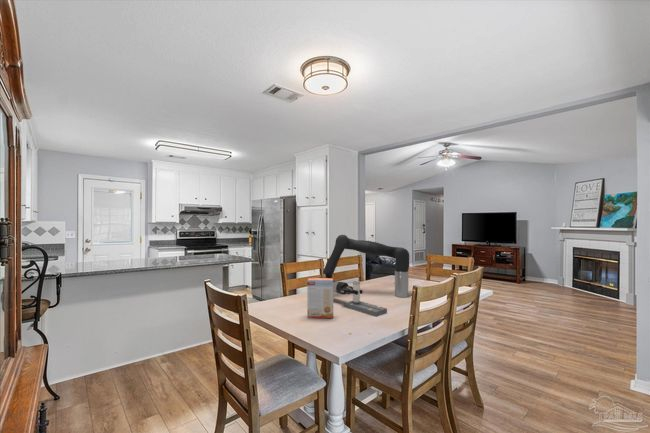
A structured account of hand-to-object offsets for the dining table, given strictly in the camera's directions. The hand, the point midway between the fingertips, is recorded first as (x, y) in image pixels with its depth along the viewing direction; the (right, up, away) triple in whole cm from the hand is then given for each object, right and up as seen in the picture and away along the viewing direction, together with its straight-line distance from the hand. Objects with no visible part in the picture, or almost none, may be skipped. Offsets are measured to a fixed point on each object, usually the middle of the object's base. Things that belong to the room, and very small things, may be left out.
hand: (359, 292), depth 189 cm
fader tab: (-2, -7, +2) cm, 7 cm away
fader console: (+3, -9, -3) cm, 10 cm away
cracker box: (-24, -10, -15) cm, 30 cm away
